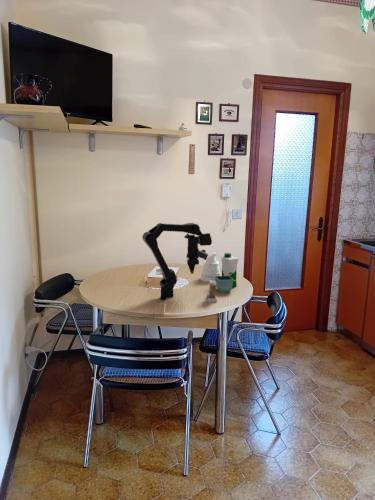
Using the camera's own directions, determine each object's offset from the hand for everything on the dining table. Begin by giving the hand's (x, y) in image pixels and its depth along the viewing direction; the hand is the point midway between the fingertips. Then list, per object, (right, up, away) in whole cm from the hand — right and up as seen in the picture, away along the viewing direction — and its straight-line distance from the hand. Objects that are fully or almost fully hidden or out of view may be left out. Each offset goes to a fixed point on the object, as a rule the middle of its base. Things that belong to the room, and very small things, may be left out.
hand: (192, 273), depth 211 cm
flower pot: (+18, -12, +10) cm, 24 cm away
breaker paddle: (+11, -14, -7) cm, 19 cm away
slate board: (+4, -15, -6) cm, 16 cm away
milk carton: (+23, -9, +24) cm, 34 cm away
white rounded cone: (+13, -7, +37) cm, 40 cm away
